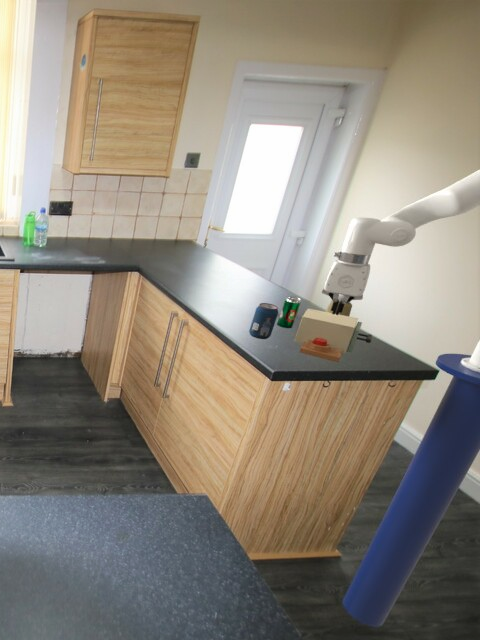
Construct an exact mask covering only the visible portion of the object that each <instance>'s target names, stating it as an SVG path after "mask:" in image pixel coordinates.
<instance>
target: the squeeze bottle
mask: <svg viewBox="0 0 480 640" xmlns="http://www.w3.org/2000/svg"><path fill="white" fill-rule="evenodd" d="M344 296H345V295H342V294H339V297H338V299H339V303H340V302H341V300H343V298H344ZM351 302H352V300H351V301H349V302H347V303H346V304H345V305H344V308H343V311H342V313H340V312H339V315H344V316H349V317H351V316H350V315H351V312H352V308H353V304H352V303H351ZM332 305H333V300H332V299H331V300H330V302H329V304H328V306H327V308H326V310H325V312H329V313H333V311H331V308H332ZM338 305H339V304H338ZM337 308H338V307H337ZM336 311H337V310H336ZM335 314H336V313H335Z"/></svg>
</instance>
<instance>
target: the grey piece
mask: <svg viewBox="0 0 480 640" xmlns="http://www.w3.org/2000/svg"><path fill="white" fill-rule="evenodd" d="M362 325H363V321H357V323H356V326H355V329H354V332H353V334H352V337H351V339H350V342H349V345H348V347H347V350H346V353H352V351H353V349H354V346H355V344H356V342H357V340H360V341H363V342H366V343H367V344H370V343H371V342H372V339H373V334H371V333H370V334H366V333H365V334H364V333H361V332H360V331H361V328H362ZM359 336H361V337H359Z"/></svg>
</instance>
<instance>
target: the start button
mask: <svg viewBox="0 0 480 640" xmlns="http://www.w3.org/2000/svg"><path fill="white" fill-rule="evenodd" d="M313 343H314V344H316V345H320V346H326V344H327V340H325V339H322V338H315V339H314V342H313Z"/></svg>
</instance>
